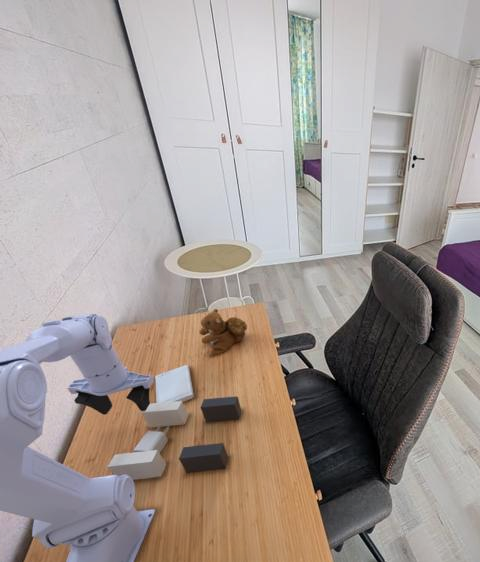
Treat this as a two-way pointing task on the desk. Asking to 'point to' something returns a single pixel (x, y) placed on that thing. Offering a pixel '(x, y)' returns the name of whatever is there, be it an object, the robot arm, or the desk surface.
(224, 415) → the grey cases
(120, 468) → the white cases
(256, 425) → the desk surface
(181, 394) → the hard drive
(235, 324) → the stuffed squirrel
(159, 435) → the usb wall charger
